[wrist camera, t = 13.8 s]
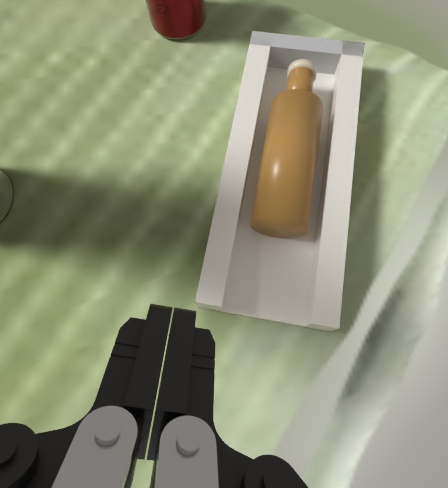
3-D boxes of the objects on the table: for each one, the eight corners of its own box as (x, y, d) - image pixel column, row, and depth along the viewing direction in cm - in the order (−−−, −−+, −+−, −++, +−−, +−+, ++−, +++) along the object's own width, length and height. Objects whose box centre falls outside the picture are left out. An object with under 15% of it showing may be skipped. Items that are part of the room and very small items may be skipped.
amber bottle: (244, 215, 32) (273, 53, 38) (256, 236, 37) (281, 90, 43) (305, 218, 30) (326, 47, 36) (310, 240, 35) (328, 87, 41)
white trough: (328, 331, 34) (339, 328, 31) (199, 307, 35) (194, 301, 32) (354, 69, 44) (364, 42, 40) (251, 57, 45) (252, 30, 41)
